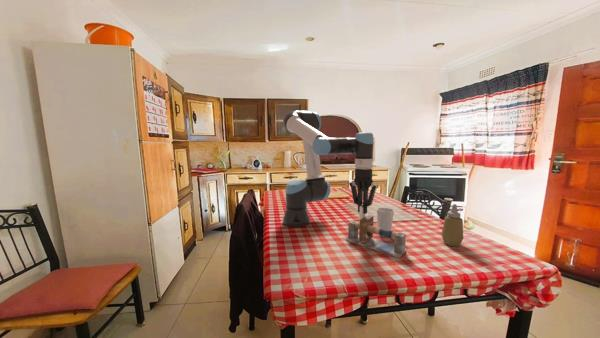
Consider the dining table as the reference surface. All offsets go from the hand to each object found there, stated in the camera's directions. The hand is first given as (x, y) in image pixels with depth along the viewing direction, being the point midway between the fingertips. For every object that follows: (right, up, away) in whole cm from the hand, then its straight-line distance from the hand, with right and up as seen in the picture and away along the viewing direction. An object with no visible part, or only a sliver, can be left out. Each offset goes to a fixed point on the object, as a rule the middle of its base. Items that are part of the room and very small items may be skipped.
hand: (362, 219), depth 101 cm
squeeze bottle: (+39, -10, -2) cm, 41 cm away
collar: (+2, -9, 0) cm, 9 cm away
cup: (+14, -9, +10) cm, 20 cm away
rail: (+5, -11, -3) cm, 12 cm away
